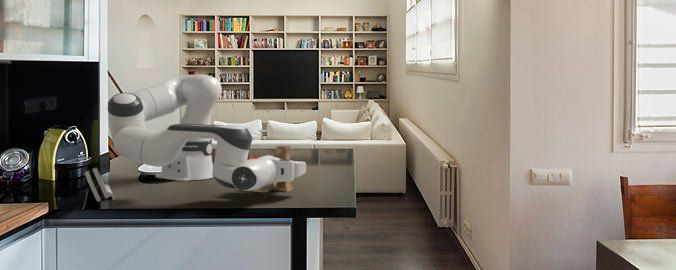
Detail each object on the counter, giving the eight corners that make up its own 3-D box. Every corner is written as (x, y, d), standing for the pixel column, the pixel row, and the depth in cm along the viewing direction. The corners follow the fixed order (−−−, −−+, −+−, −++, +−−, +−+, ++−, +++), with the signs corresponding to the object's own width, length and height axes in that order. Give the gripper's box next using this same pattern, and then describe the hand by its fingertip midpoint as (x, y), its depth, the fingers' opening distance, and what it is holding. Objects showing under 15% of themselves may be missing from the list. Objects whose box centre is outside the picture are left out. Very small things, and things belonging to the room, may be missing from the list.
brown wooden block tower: (268, 190, 173) (268, 146, 171) (274, 187, 178) (274, 144, 176) (287, 191, 171) (287, 147, 169) (292, 188, 176) (292, 145, 174)
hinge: (115, 199, 157) (101, 170, 154) (99, 206, 155) (85, 177, 153) (110, 189, 172) (98, 162, 169) (96, 195, 170) (83, 168, 167)
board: (239, 190, 172) (239, 184, 172) (267, 178, 193) (267, 173, 193) (266, 192, 169) (266, 186, 169) (291, 180, 190) (291, 175, 190)
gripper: (237, 177, 164) (256, 170, 177) (296, 181, 158) (311, 174, 171) (237, 158, 163) (256, 152, 177) (296, 161, 157) (312, 155, 170)
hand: (284, 163), depth 174 cm, fingers closed on brown wooden block tower, 3 cm apart
